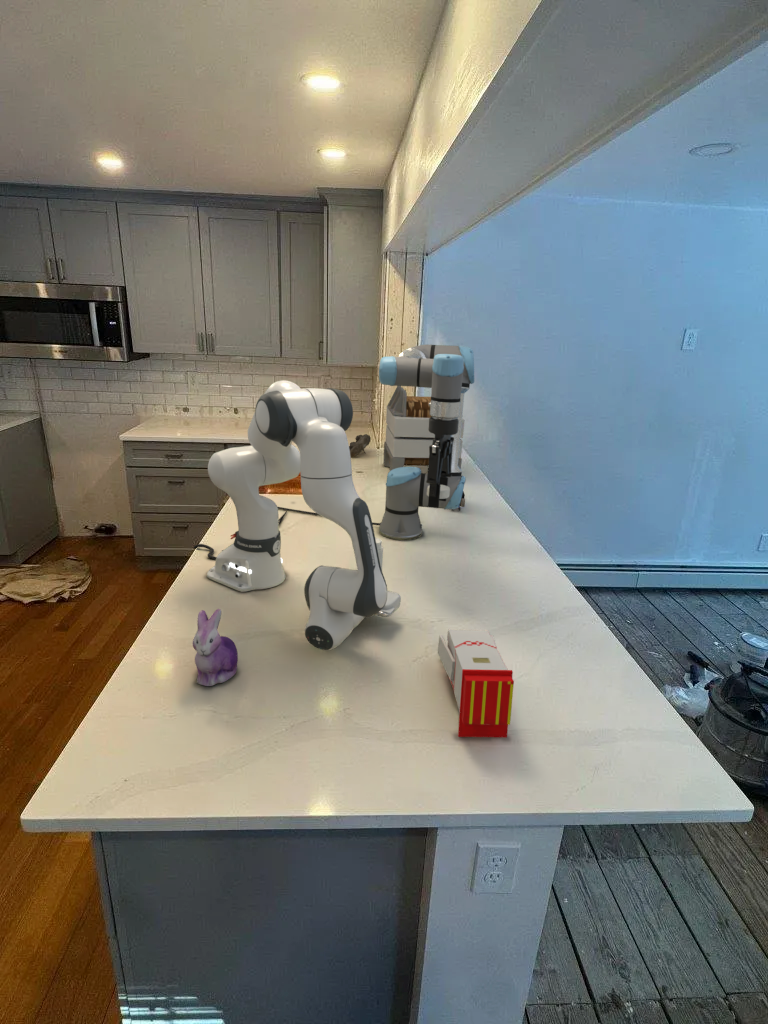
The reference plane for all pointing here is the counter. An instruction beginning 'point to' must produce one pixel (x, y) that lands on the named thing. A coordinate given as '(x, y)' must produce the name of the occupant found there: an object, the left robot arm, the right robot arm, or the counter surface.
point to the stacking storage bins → (409, 431)
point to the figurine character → (462, 501)
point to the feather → (282, 518)
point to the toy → (478, 682)
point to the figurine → (213, 651)
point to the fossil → (359, 444)
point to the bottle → (379, 550)
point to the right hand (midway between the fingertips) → (437, 503)
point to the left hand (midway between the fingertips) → (372, 583)
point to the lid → (442, 491)
